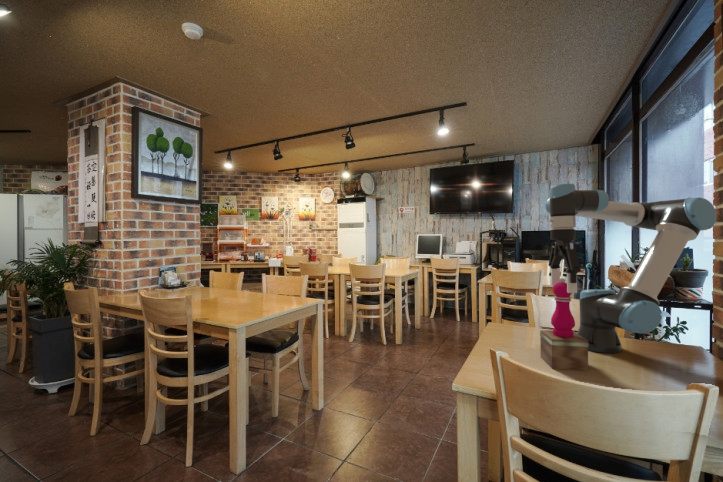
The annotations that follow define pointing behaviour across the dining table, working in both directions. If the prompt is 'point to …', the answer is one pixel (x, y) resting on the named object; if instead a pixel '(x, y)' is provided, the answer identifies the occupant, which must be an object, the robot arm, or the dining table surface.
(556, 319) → the pepper mill
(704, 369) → the dining table surface
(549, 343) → the walnut box
